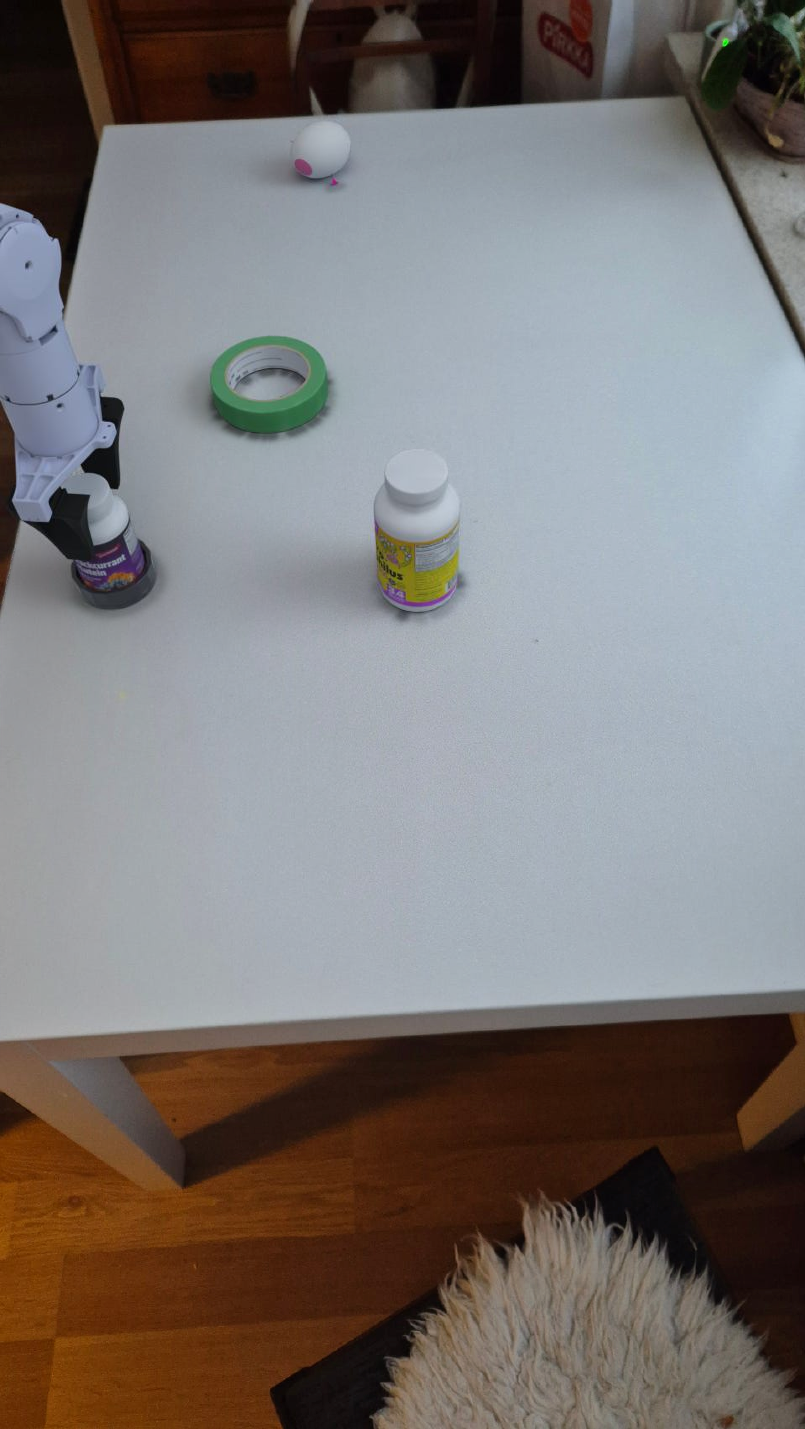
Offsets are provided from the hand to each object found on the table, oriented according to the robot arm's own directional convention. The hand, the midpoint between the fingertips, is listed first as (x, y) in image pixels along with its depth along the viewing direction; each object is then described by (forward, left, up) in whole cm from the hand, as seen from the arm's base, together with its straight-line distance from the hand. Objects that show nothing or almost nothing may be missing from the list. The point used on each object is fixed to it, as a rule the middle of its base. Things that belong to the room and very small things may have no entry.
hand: (93, 520), depth 79 cm
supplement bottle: (+25, -7, -7) cm, 26 cm away
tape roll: (+17, +20, -7) cm, 27 cm away
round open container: (0, 0, -7) cm, 7 cm away
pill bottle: (0, 0, -7) cm, 7 cm away
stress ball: (+29, +58, -7) cm, 65 cm away
